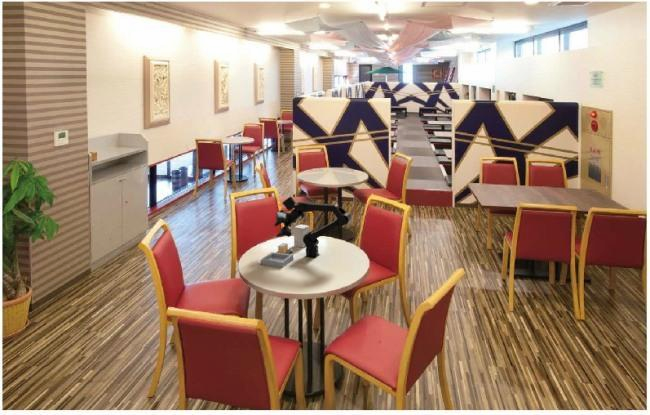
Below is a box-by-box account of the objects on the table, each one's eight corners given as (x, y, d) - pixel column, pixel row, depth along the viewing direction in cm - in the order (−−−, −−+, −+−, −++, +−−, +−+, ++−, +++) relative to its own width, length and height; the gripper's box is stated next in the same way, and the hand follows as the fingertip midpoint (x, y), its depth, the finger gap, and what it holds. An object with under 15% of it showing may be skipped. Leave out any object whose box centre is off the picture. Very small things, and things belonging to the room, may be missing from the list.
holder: (292, 252, 317) (292, 250, 317) (285, 257, 308) (285, 255, 308) (281, 250, 320) (281, 248, 320) (273, 255, 311) (273, 253, 311)
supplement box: (302, 247, 325) (302, 228, 322) (293, 245, 329) (293, 226, 326) (310, 244, 331) (309, 225, 327) (301, 242, 335) (300, 223, 332)
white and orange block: (287, 252, 316) (287, 243, 315) (283, 256, 311) (283, 246, 309) (282, 252, 318) (282, 242, 316) (278, 255, 312) (278, 245, 311)
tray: (293, 259, 304) (293, 254, 304) (282, 267, 292) (282, 262, 291) (272, 256, 309) (271, 252, 309) (260, 264, 297) (260, 259, 296)
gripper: (281, 199, 310) (264, 214, 316) (285, 221, 296) (267, 236, 302) (294, 207, 316) (277, 222, 322) (299, 229, 303) (281, 244, 309)
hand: (275, 231), depth 314 cm, fingers open, 9 cm apart
